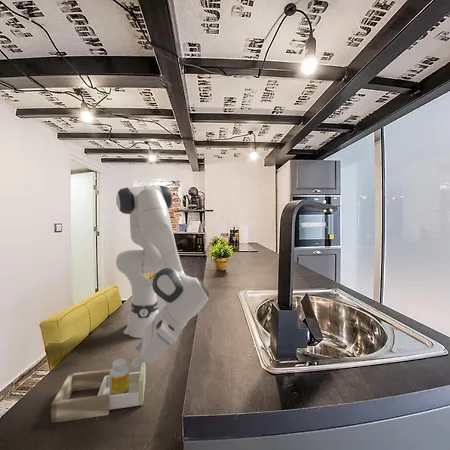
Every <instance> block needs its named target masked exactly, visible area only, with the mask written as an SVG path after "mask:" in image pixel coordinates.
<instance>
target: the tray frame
mask: <svg viewBox="0 0 450 450" xmlns="http://www.w3.org/2000/svg"><path fill="white" fill-rule="evenodd" d="M111 369H112V368H111ZM111 369H110V368H109V369H102V370H92V371H91V370H90V371H84V372H74V373H69V374H68V375H67V377H66V379H65V380H64V382H63V384H62V386H61V387H60V389H59V391H58V393H57V394H56V396H55V398H54V399H53V401H52V402H51V404H50V405H51V406H50V414H51V415H50V418H51V419H50V420H51V421H50V423H51V424H53V423H56V424H57V423H62V422H68V421H75V420H83V419H89V418H94V417H104V416H108V415H109V414H110V410H109V394H107V395H99V396H98V395H93V396H85V397H78V398H71V397H70V396H71V395H72V394H73V392H76V391H86V390H94V389H100V387H101V385H102V382H103V379H104V377H105V376H107V375H110V371H111Z"/></svg>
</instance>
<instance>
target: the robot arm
mask: <svg viewBox="0 0 450 450" xmlns="http://www.w3.org/2000/svg"><path fill="white" fill-rule="evenodd" d="M172 203H173V194H172V192H171V189H170V188H169V187H168V186H165V185H157V186H156V185H142V186H134V187H124V188H120V189H119V190H118V191H117V194H116V197H115V204H116V206H117V208H118V210H119V212H121V213H122V214H124V215H125V214H126V215H129V229H130V230H129V231H130V239H131V240H132V242H133V243H134V244H135V245H137V246H139V247H141V248H142V249H129V250H123V251H120V252H119V253H118V254H117V256H116V259H115V266H116V268H117V269H118V271H119V272H120V273H121V274H123V275H124V276H125V277H126V278H127V280H128V281H129V283H130V285H131V286H130V287H131V295H132V297H131V298H132V302H131V305H130V307H131V308H130V309H131V312H130V313H129V314H128V315H127V326H126V328H125V329H124V330H123V335H128V336H130V337H132V338H138V339H140V340H139V342H138V343H137V344H136V345H135V347H134V349H135V350H136V351H137V352H140V354H139V355H138V356H137V357H135V358H133V360H132V362H131V366H132V367H133V368H134V369H136V368H138V367H139V366H141V363H143V362H145V363H146V364H147V365H151V364H154V363H155V362H156V361H157V360H158V359H159V358H160V357H161V356H162V355H163V354H164V353H165V352H166V351H167V350H168V349H169V347H170V346H174V345H175V344H176V342H177V341H178V338H179V334H180V333H181V332H182V330H183V329H184V327H186V326H187V324H188V322H189V321H190V319H192V318H193V317H195V316H197V314H198V313H199V312H200V311H201V310H202V309H203V307H204V306H206V304H207V301H208V300H209V298H210V292H209V290H208V289H209V288H207V286H206V284H205V282H203V281H202V280H201V279H200V278H199V277H193V276H190V275H188V274H187V273H186V272H185V270H184V267H183V263H182V261H181V260H182V259H181V257H180V253H179V250H178V247H177V244H176V239H175V235H174V231H173V230H174V229H173V224H172V219H171V215H170V211H169V209H170V208H171V207H172V205H173V204H172ZM145 274H155V275H154V277H153V279H152V280H150V279H149V278H147V277H146V276H145ZM157 296H158V297H159V298H161V300H163V301H165V302H166V305H165V306H164V307H162V308H161V310H160V311H159V310H158V307H159V302H158V297H157Z"/></svg>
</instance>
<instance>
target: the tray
mask: <svg viewBox="0 0 450 450" xmlns="http://www.w3.org/2000/svg"><path fill="white" fill-rule="evenodd" d="M146 364H147V363H145V362H143V363H141V364H140V371H136V372H129V391H128V393H124V394H117V395H110V375H107V376H105V377H104V379H103V382H102V385H101V387H100V388H99V390H98V394H97V396H99V395H107V394H109V411H110V410H116V409H124V408H132V407H137V406H143V405H144V400H145V399H144V398H145V391H146V390H145V389H146V369H147V368H146Z"/></svg>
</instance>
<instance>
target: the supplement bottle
mask: <svg viewBox="0 0 450 450" xmlns="http://www.w3.org/2000/svg"><path fill="white" fill-rule="evenodd" d="M127 364H128V363H127V359H126V358H119V359H118V358H117V359H116V360H114V361H113V362H112V363H111V365H112V366H111V371H110V395H117V394H124V393H128V391H129V373H130V369H129V367H128V366H127Z"/></svg>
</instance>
